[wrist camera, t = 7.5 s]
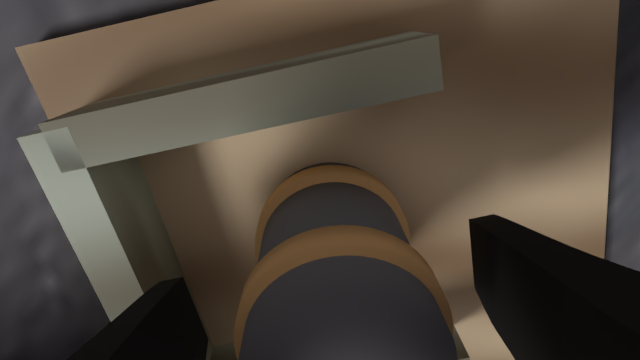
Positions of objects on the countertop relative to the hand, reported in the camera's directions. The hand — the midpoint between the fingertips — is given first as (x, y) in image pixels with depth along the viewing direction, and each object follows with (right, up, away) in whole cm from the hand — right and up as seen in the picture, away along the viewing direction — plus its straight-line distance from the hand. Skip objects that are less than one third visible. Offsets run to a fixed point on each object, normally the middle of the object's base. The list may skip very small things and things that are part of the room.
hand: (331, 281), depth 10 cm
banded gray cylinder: (0, +1, +3) cm, 3 cm away
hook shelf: (+1, 0, +4) cm, 4 cm away
